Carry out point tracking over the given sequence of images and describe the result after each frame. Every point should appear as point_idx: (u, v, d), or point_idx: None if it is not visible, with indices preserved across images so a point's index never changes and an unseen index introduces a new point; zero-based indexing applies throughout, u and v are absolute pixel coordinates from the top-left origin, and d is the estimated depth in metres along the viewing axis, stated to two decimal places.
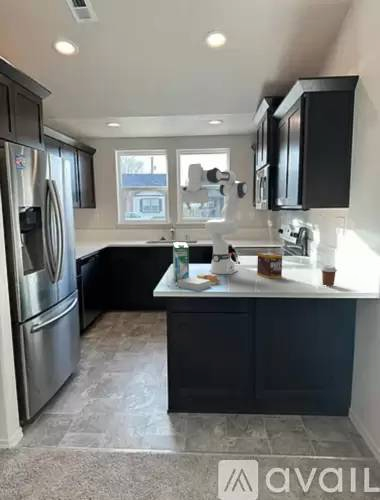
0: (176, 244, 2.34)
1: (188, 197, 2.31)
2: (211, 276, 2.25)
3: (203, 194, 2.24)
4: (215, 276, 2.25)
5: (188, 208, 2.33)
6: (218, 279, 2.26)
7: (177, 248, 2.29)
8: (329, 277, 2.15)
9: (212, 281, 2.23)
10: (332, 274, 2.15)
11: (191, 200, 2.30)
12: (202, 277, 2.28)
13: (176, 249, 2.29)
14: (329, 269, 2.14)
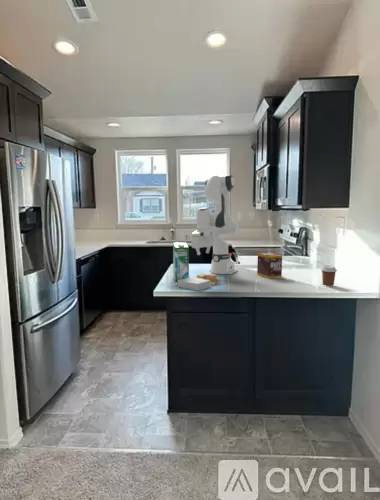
0: (176, 244, 2.34)
1: (201, 242, 2.24)
2: (210, 275, 2.25)
3: (212, 238, 2.33)
4: (215, 276, 2.25)
5: (199, 253, 2.25)
6: (217, 279, 2.26)
7: (177, 248, 2.29)
8: (329, 277, 2.15)
9: (211, 281, 2.23)
10: (332, 274, 2.15)
11: (204, 245, 2.26)
12: (201, 277, 2.28)
13: (176, 249, 2.29)
14: (329, 269, 2.14)
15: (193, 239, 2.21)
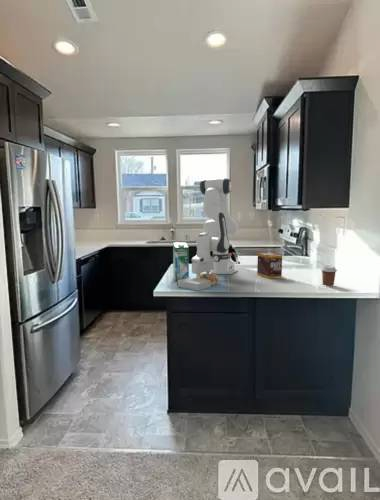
0: (176, 244, 2.34)
1: (201, 267, 2.26)
2: (210, 275, 2.25)
3: (212, 263, 2.35)
4: (214, 275, 2.26)
5: (200, 278, 2.28)
6: (217, 278, 2.26)
7: (177, 248, 2.29)
8: (329, 277, 2.15)
9: (211, 280, 2.23)
10: (332, 274, 2.15)
11: (204, 270, 2.28)
12: (201, 276, 2.28)
13: (176, 249, 2.29)
14: (329, 269, 2.14)
15: (193, 265, 2.23)
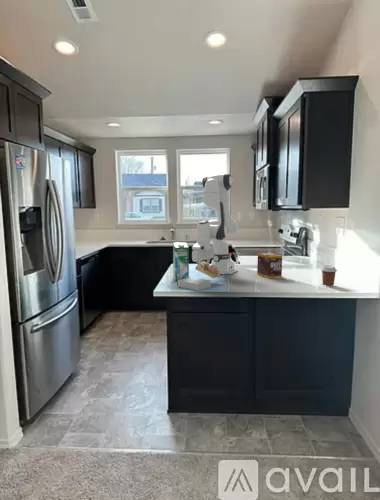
0: (176, 244, 2.34)
1: (202, 255, 2.25)
2: (212, 267, 2.25)
3: (213, 250, 2.35)
4: (215, 268, 2.26)
5: (201, 266, 2.27)
6: (217, 272, 2.26)
7: (177, 248, 2.29)
8: (329, 277, 2.15)
9: (211, 273, 2.24)
10: (332, 274, 2.15)
11: (204, 258, 2.28)
12: (202, 266, 2.27)
13: (176, 249, 2.29)
14: (329, 269, 2.14)
15: (194, 253, 2.22)
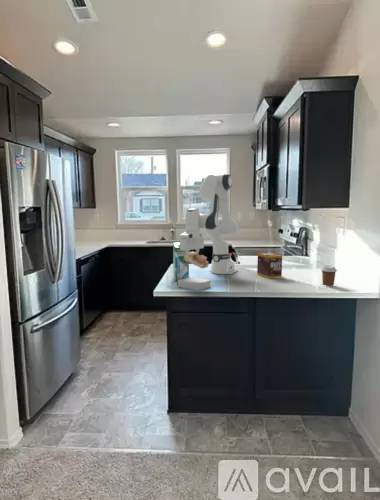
0: (176, 244, 2.34)
1: (190, 244, 2.15)
2: (200, 257, 2.14)
3: (202, 241, 2.24)
4: (204, 258, 2.15)
5: (189, 256, 2.17)
6: (207, 262, 2.15)
7: (177, 248, 2.29)
8: (329, 277, 2.15)
9: (200, 263, 2.13)
10: (332, 274, 2.15)
11: (193, 247, 2.17)
12: (191, 256, 2.17)
13: (176, 249, 2.29)
14: (329, 269, 2.14)
15: (181, 241, 2.12)
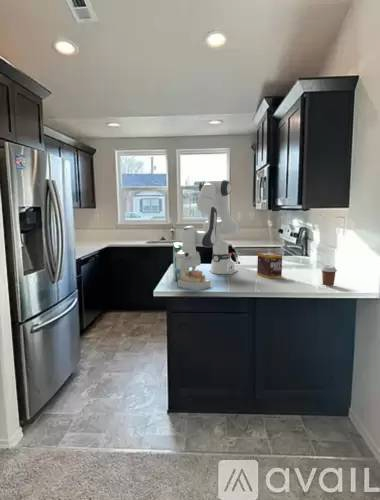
0: (176, 244, 2.34)
1: (186, 263, 2.14)
2: (196, 272, 2.13)
3: (199, 258, 2.23)
4: (200, 272, 2.14)
5: (185, 274, 2.16)
6: (203, 276, 2.14)
7: (177, 248, 2.29)
8: (329, 277, 2.15)
9: (196, 278, 2.11)
10: (332, 274, 2.15)
11: (189, 265, 2.16)
12: None
13: (176, 249, 2.29)
14: (329, 269, 2.14)
15: (178, 260, 2.11)
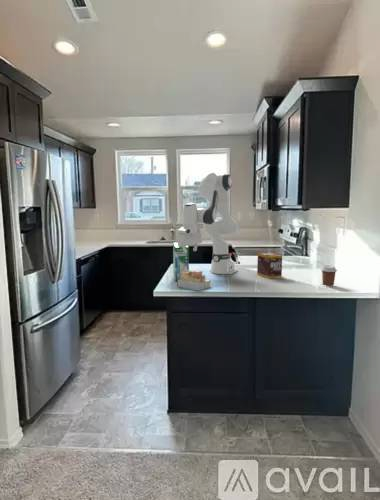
0: (176, 244, 2.34)
1: (188, 240, 2.13)
2: (195, 272, 2.13)
3: (200, 235, 2.22)
4: (200, 273, 2.14)
5: (186, 252, 2.14)
6: (203, 276, 2.14)
7: (177, 248, 2.29)
8: (329, 277, 2.15)
9: (196, 278, 2.11)
10: (332, 274, 2.15)
11: (190, 243, 2.15)
12: (186, 274, 2.16)
13: (176, 249, 2.29)
14: (329, 269, 2.14)
15: (179, 236, 2.10)
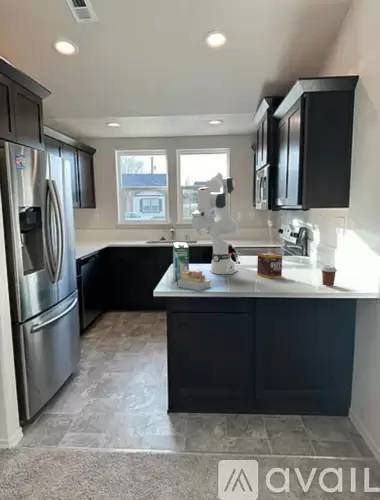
0: (176, 244, 2.34)
1: (202, 222, 2.19)
2: (195, 272, 2.13)
3: (213, 219, 2.29)
4: (200, 273, 2.14)
5: (200, 234, 2.20)
6: (203, 276, 2.14)
7: (177, 248, 2.29)
8: (329, 277, 2.15)
9: (196, 278, 2.11)
10: (332, 274, 2.15)
11: (204, 226, 2.22)
12: (186, 274, 2.16)
13: (176, 249, 2.29)
14: (329, 269, 2.14)
15: (194, 219, 2.16)
